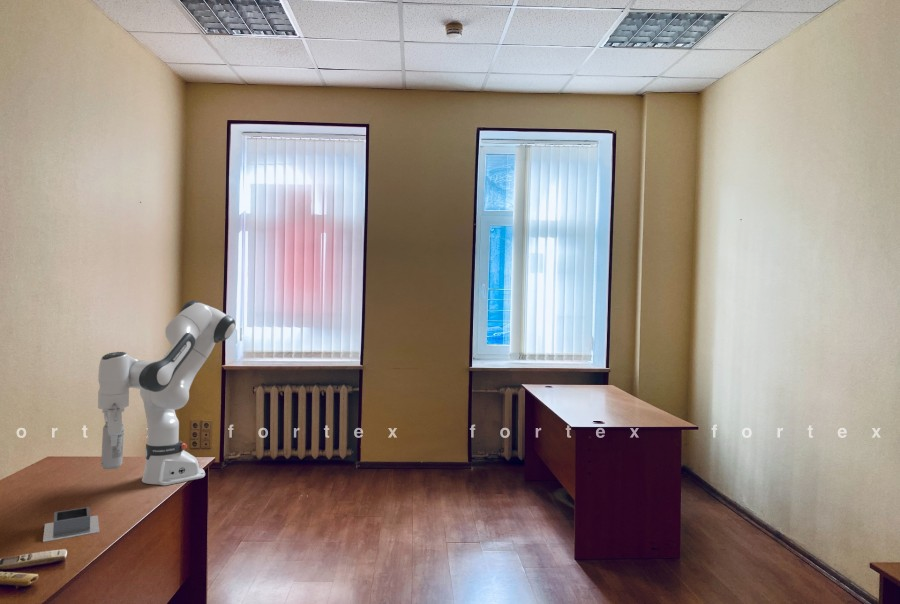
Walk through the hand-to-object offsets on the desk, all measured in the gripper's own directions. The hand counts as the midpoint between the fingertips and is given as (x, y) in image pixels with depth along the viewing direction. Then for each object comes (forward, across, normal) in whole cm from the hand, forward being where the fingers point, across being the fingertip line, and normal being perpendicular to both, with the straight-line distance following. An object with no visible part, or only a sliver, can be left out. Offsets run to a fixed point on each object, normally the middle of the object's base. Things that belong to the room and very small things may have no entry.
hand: (112, 443), depth 189 cm
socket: (+24, -9, +11) cm, 28 cm away
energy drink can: (+8, 0, 0) cm, 8 cm away
